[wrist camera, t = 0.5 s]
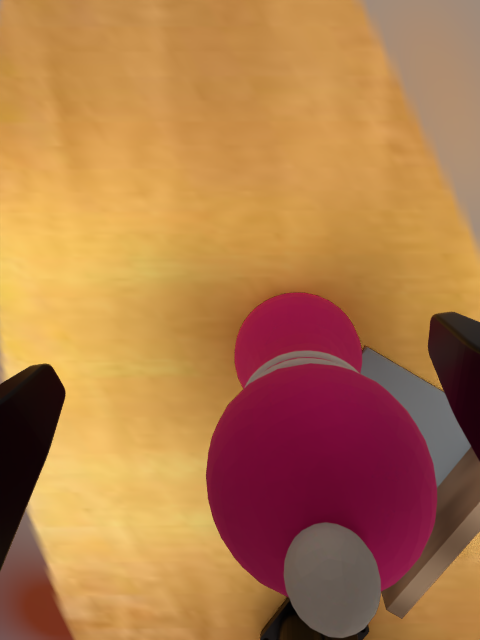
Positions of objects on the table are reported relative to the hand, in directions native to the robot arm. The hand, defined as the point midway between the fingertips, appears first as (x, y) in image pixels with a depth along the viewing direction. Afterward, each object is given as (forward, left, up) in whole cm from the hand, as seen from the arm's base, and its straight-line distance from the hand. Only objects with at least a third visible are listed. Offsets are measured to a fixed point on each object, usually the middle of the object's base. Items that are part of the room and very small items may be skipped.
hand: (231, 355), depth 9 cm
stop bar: (-8, -19, -17) cm, 26 cm away
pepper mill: (-2, -4, -17) cm, 18 cm away
